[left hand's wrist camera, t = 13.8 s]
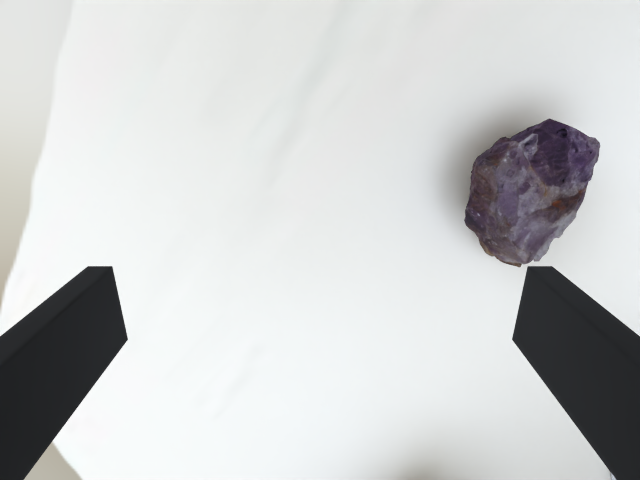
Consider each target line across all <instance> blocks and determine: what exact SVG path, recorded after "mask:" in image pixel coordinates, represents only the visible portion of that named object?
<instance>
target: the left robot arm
mask: <svg viewBox="0 0 640 480" xmlns="http://www.w3.org/2000/svg"><path fill="white" fill-rule="evenodd" d="M127 340H128V338H127V334H126V329H125V324H124V319H123V315H122V310H121V305H120V301H119V296H118V291H117V287H116V282H115V277H114V273H113V268H112V266H88V267H87V268H85V269H84V270H83V271H82V272H80V273H79V274H78V275H77V276H75V277H74V278H73V279H72V280H70V281H69V282H68V283H67V284H65V285H64V286H63V287H62V288H60V289H59V290H58V291H57V292H55V293H54V294H53V295H52V296H50V297H49V298H48V299H47V300H45V301H44V302H43V303H42V304H40V305H39V306H38V307H37V308H35V309H34V310H33V311H32V312H30V313H29V314H28V315H27V316H25V317H24V318H23V319H22V320H20V321H19V322H18V323H17V324H15V325H14V326H13V327H12V328H10V329H9V330H8V331H7V332H5V333H4V334H3V335H2V336H0V480H24V478H25V477H26V476H27V474H28V473H29V472H30V470H31V469H32V468H33V466H34V465H35V463H36V462H37V461H38V460H39V458H40V457H41V455H42V454H43V453H44V451H45V450H46V449H47V447H48V446H49V445H50V443H51V442H52V441H53V439H54V438H55V437H56V435H57V434H58V433H59V431H60V430H61V429H62V427H63V426H64V425H65V423H66V422H67V421H68V419H69V418H70V416H71V415H72V414H73V412H74V411H75V410H76V408H77V407H78V406H79V404H80V403H81V402H82V400H83V399H84V398H85V396H86V395H87V394H88V392H89V391H90V390H91V388H92V387H93V386H94V384H95V383H96V382H97V380H98V379H99V377H100V376H101V375H102V373H103V372H104V371H105V369H106V368H107V367H108V365H109V364H110V363H111V361H112V360H113V359H114V357H115V356H116V355H117V353H118V352H119V351H120V349H121V348H122V347H123V345H124V344H125V343H126V341H127ZM512 340H513V341H514V343H515V344H516V345H517V347H518V348H519V349H520V351H521V352H522V353H523V355H524V356H525V357H526V359H527V360H528V361H529V363H530V364H531V365H532V367H533V368H534V369H535V371H536V372H537V373H538V375H539V376H540V377H541V379H542V380H543V382H544V383H545V384H546V386H547V387H548V388H549V390H550V391H551V392H552V394H553V395H554V396H555V398H556V399H557V400H558V402H559V403H560V404H561V406H562V407H563V408H564V410H565V411H566V412H567V414H568V415H569V416H570V418H571V419H572V421H573V422H574V423H575V425H576V426H577V427H578V429H579V430H580V431H581V433H582V434H583V435H584V437H585V438H586V439H587V441H588V442H589V443H590V445H591V446H592V447H593V449H594V450H595V451H596V453H597V454H598V455H599V457H600V458H601V460H602V461H603V462H604V464H605V465H606V466H607V468H608V469H609V470H610V472H611V473H612V474H613V476H614V477H615V478H616V480H640V336H638V335H637V334H636V333H635V332H633V331H632V330H631V329H630V328H628V327H627V326H626V325H625V324H623V323H622V322H621V321H620V320H618V319H617V318H616V317H615V316H613V315H612V314H611V313H610V312H608V311H607V310H606V309H605V308H603V307H602V306H601V305H600V304H598V303H597V302H596V301H595V300H593V299H592V298H591V297H590V296H588V295H587V294H586V293H585V292H583V291H582V290H581V289H580V288H578V287H577V286H576V285H575V284H573V283H572V282H571V281H570V280H568V279H567V278H566V277H565V276H563V275H562V274H561V273H560V272H558V271H557V270H556V269H555V268H553V267H552V266H528V268H527V273H526V277H525V282H524V287H523V291H522V296H521V301H520V305H519V310H518V315H517V319H516V324H515V329H514V334H513V338H512Z"/></svg>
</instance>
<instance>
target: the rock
mask: <svg viewBox="0 0 640 480" xmlns="http://www.w3.org/2000/svg"><path fill="white" fill-rule="evenodd" d="M599 148H600V143H599V142H598V141H597V139H596V138H593V137H588V136H587V135H585V134H584V133H582V132H580V131H579V130H577V129H575V128H573V127H570V126H568V125H565V124H563V123H560V122H557V121H554V120H552V119H548V120H546V121H543V122H542V123H540V124H537V125H534V126H531V127H529V128H527V129H526V130H524V131H522V132H520V133H518V134H516V135H514V136H512V138H511V139H510V138H506V137H503V138H500V139H499V140H498V141H497V142H496V143H495V144H494V145H493V146H492V147H491V148H490V149H488V150H486V151H485V152H484V153H483V154H481V155H480V156H478V157H477V159H476V160H475V162H474V165H473V170H472V172H471V173H472V175H471V186H470V196H469V202H468V204H467V207H466V210H465V214H466V217H465V220H464V221H465V223H466V226H467V227H468V228H469V229H471V230H472V231H473V232H475V234H476V235H477V237H478V238H479V241H480V245H481V246H482V248H483V249H484V251H485V252H486V253H487V254H488V255H490V256H495V257H496V258H497V259H499V260H500V261H501V262H503V263H506V264H510V265H513V266H517V267H521V265H522V264H527V263H529V262H531V261H532V260H533V259H534V261H539V260H540V259H541V257H542V256H544V255H545V254H546V252H547V251H548V249H549V245H550V243H551V242H552V240H553V239H554V238H559V237H560V236H561V235H562V234H563V231H564V230H565V229H566V228H567V226H568V225H569V224H570V223H571V222H572V221H573V220H574V219H575V217H576V212H577V211H578V209H579V207H580V205H581V203H582V202H583V199H584V196H585V192H586V187H587V184H588V181H590V180H591V177H592V175H593V167H594V165H595V163H596V162H597V161H598V157H599Z"/></svg>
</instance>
